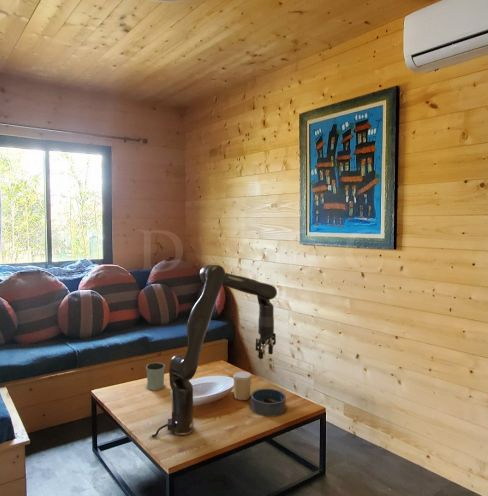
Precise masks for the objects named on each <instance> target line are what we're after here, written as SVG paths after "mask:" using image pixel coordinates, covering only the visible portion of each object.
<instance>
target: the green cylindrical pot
mask: <svg viewBox="0 0 488 496" xmlns="http://www.w3.org/2000/svg"><path fill="white" fill-rule="evenodd" d="M165 369H166V365H165V364H164V363H163V362H158V361H157V362H151V363H148V364H146V366H145V370H146V371H145V372H146V380H147V381H146V382H147V384H146V385H147V389H148V390H150V391H161V390H162V389H164V387H165V385H164V383H165V382H164V381H165Z"/></svg>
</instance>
